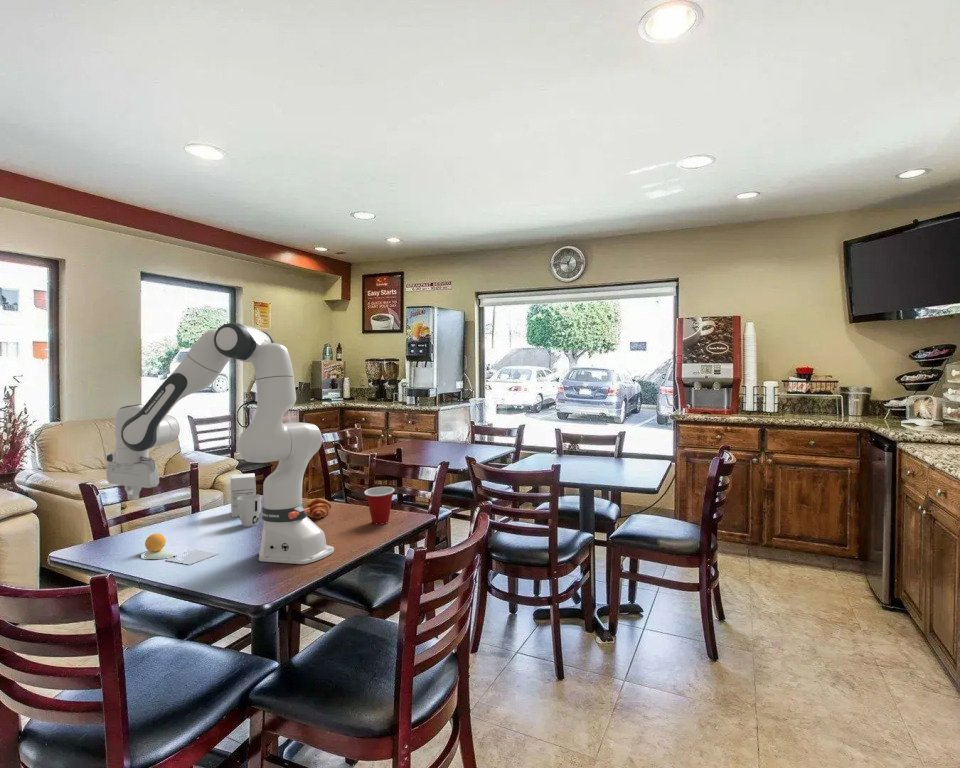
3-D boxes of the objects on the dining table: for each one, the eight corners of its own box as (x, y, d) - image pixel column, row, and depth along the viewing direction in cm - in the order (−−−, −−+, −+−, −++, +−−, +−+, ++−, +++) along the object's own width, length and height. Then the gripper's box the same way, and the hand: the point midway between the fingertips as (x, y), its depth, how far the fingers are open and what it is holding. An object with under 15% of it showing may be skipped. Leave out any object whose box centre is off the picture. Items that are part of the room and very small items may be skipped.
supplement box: (231, 512, 214) (230, 474, 214) (255, 509, 217) (255, 472, 217) (230, 517, 205) (229, 478, 205) (256, 514, 209) (255, 476, 209)
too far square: (218, 554, 163) (218, 553, 163) (189, 565, 154) (189, 564, 154) (195, 550, 167) (195, 549, 167) (165, 560, 158) (165, 560, 158)
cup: (256, 527, 191) (255, 499, 191) (233, 527, 191) (233, 499, 191) (265, 521, 199) (265, 494, 199) (244, 521, 199) (243, 494, 199)
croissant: (308, 517, 218) (297, 501, 216) (330, 503, 221) (320, 487, 220) (312, 530, 198) (300, 512, 197) (336, 514, 201) (325, 496, 200)
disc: (198, 548, 168) (198, 548, 168) (159, 562, 157) (159, 561, 157) (169, 543, 174) (169, 543, 174) (129, 556, 162) (129, 556, 162)
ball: (164, 527, 168) (157, 537, 170) (146, 532, 164) (139, 542, 166) (171, 542, 167) (164, 552, 169) (153, 547, 162) (146, 557, 164)
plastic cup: (358, 525, 192) (358, 492, 192) (374, 517, 202) (373, 485, 202) (386, 527, 189) (385, 493, 188) (400, 519, 199) (399, 487, 199)
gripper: (164, 456, 169) (165, 500, 169) (121, 453, 177) (122, 495, 177) (144, 459, 163) (145, 504, 163) (101, 456, 171) (102, 499, 172)
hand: (133, 499), depth 170 cm, fingers closed
